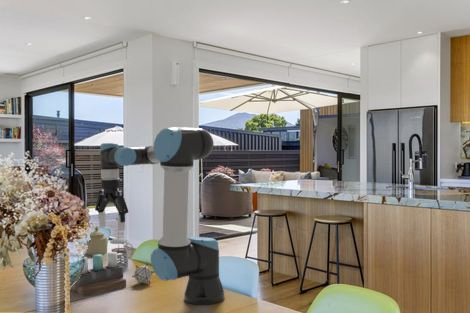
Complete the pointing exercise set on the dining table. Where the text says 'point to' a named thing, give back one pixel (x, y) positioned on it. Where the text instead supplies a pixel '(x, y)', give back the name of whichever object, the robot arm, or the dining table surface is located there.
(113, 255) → the grey plug
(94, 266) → the teal plug
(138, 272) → the grey spiky ball
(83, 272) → the grey plug
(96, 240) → the sugar bowl
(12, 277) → the dining table surface
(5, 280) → the dining table surface
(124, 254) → the french press
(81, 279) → the socket board
